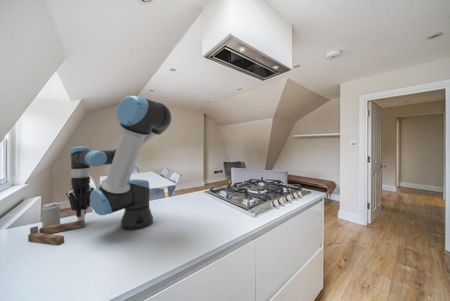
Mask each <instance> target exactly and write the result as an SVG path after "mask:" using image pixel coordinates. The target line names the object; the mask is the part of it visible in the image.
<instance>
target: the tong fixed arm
mask: <svg viewBox="0 0 450 301" xmlns="http://www.w3.org/2000/svg"><path fill="white" fill-rule="evenodd" d="M29 230H30V231H29V233H30V234H28V235H27V240H28V242H31V243H32V242H33V243H38V244H46V245H53V246H60V245H62V244H64V243H65V236H64V235H60V234H53V233H50V234H44V233H39V227H38V225H37V226H33V227H30V229H29Z"/></svg>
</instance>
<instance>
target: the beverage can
mask: <svg viewBox="0 0 450 301" xmlns="http://www.w3.org/2000/svg"><path fill="white" fill-rule="evenodd" d="M58 224H61V205H60V203H59V202H51V203H45V204H43V205H42V208H41V227H46V226H52V225H58Z"/></svg>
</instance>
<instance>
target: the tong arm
mask: <svg viewBox="0 0 450 301" xmlns="http://www.w3.org/2000/svg"><path fill="white" fill-rule="evenodd" d="M85 222H86V219H85V220H81V221H78V220H76V221H70V222H64V223H60V224H58V225H52V226H46V227H42V226H41V227H40V228H38V233H44V234H55V233H58V232H59V233H60V232H64V231H65V232H66V231H70V230H75V229H81V228H85V225H86V223H85Z"/></svg>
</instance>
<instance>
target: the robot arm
mask: <svg viewBox="0 0 450 301" xmlns="http://www.w3.org/2000/svg"><path fill="white" fill-rule="evenodd" d="M116 114H117V115H116V117H117V120H118V122H119V123H120V124H119V125H120V128H121V130H122V131H121V135H120V137H119V141H118V144H117V147H116V148H115V149H110V150H108V149H107V150H90V149H91V148H90V147H89V146H72V147H71V148H70V164H71V165H70V172H71V173H70V174H71V175H70V177H71V178H70V182H71V186H72V187H71V189H70V191H69V192H66V193H65V195H66V197H67V198H68V201H69V205H70V208H71V210H72V211H76V212H75V214H76V215H75V216H76V218H77V221H81V220H85V221H86V219H85V216H86V214H87V213H86V212H87V211H86V210H87V209H88V207H90V206H91V208H92V210H93V211H94V212H95V214H97V215H98V216H106V215H112V214H113V213H116V212H118V211H121V210H124V213H123V214H122V218H121V221H120V228H121V229H122V230H127V231H134V230H140V229H143V228H146V227H148V226H150V225H152V224H153V223H154V216H153V215H152V214H153V213H152V211H151V208H150V189H151V187H150V183H149V180H146V179H131V176H132V173H133V171H134V168H135V166H136V162H137V160H138V157H139V155H140V151H141V149H142V147H144V145H145V144H147V143H149V141H151V140H152V139H153V138H154V137H156V135H157V136H159V135H161V134H163V133H164V132H165V131H166V130H167V129H168V128H169V127H170V125H171V124H172V123H171V122H172V113H171V111H170V109H169V107H167V106H166V105H165V104H163V103H161V102H158V101H155V100H151V99H148V98H145V97H142V96H138V95H128V96H126V97H124V98H123V99H122V100H121V101H120V102H119V104H118V107H117V109H116ZM109 165H110V167H109V170H108V171H109V172H108V173H107V177H106V178H105V179H103V180H102V181H101V183H100V185H99V188H94V187H91V186H90V183H91V177H90V175H91V167H102V166H109Z"/></svg>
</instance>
